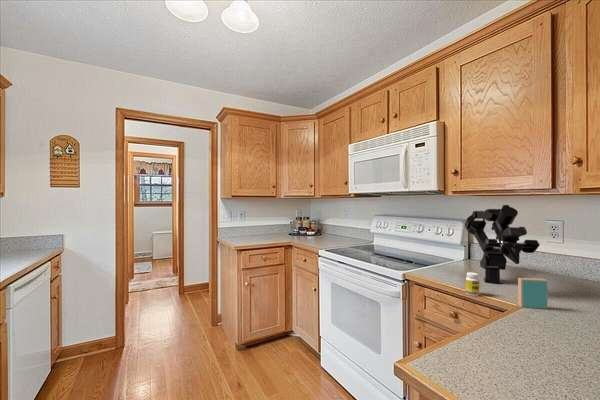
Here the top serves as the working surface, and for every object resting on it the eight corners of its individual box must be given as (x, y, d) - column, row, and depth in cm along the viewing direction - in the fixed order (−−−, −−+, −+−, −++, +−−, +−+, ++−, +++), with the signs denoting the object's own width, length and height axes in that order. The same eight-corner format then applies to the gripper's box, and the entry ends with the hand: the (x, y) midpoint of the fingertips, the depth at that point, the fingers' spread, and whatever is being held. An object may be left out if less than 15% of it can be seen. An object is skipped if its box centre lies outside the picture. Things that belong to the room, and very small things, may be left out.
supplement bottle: (472, 296, 109) (472, 275, 109) (462, 292, 114) (462, 272, 114) (482, 295, 111) (482, 274, 111) (472, 291, 115) (472, 271, 115)
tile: (518, 305, 100) (518, 277, 100) (543, 306, 99) (543, 278, 99) (521, 307, 98) (521, 279, 98) (548, 309, 96) (547, 280, 96)
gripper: (484, 219, 115) (497, 250, 104) (536, 219, 111) (555, 252, 100) (477, 235, 123) (488, 266, 112) (525, 236, 118) (542, 268, 108)
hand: (517, 263), depth 108 cm, fingers closed
